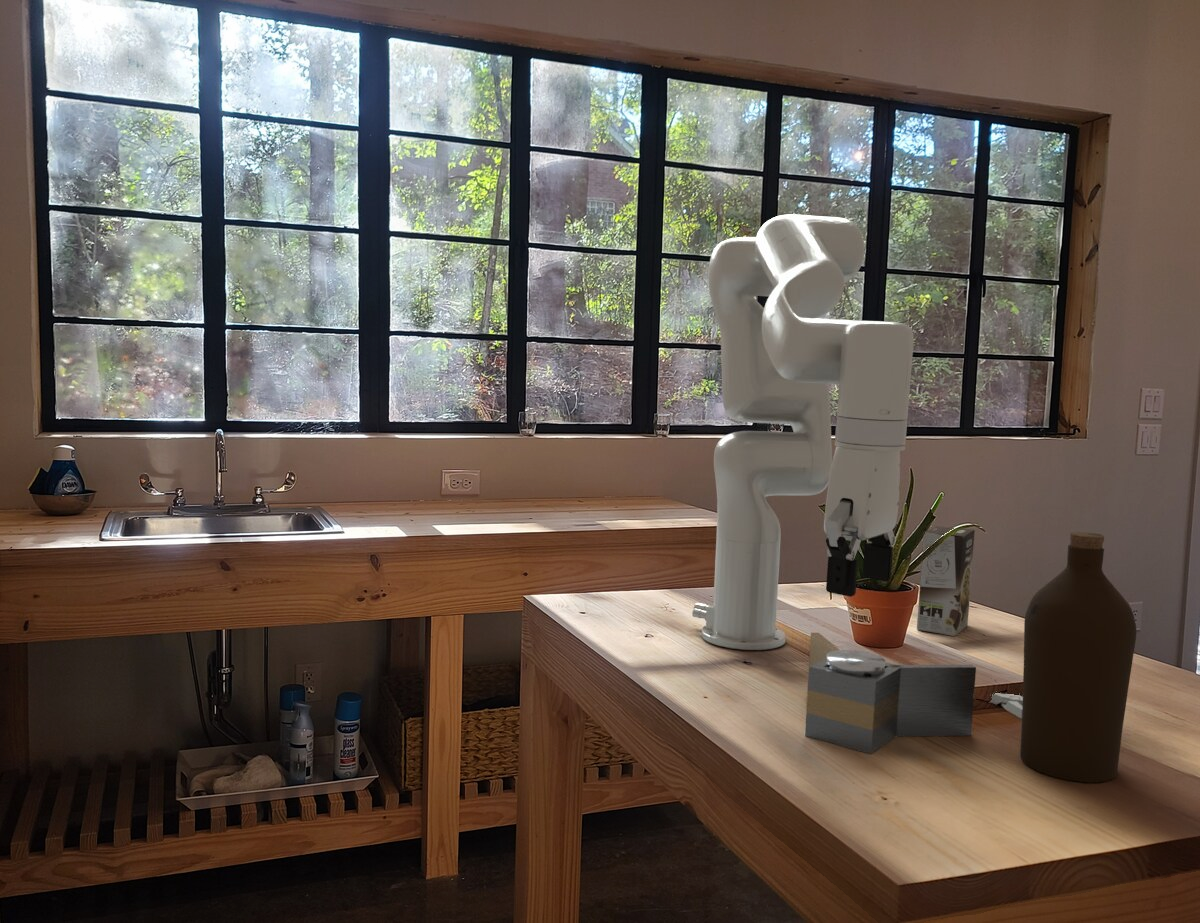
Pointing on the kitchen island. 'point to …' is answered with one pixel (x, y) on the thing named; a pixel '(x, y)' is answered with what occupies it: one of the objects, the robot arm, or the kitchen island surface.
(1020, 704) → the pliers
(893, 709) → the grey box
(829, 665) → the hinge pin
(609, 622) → the kitchen island surface
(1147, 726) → the kitchen island surface
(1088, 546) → the olive oil
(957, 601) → the coffee box
